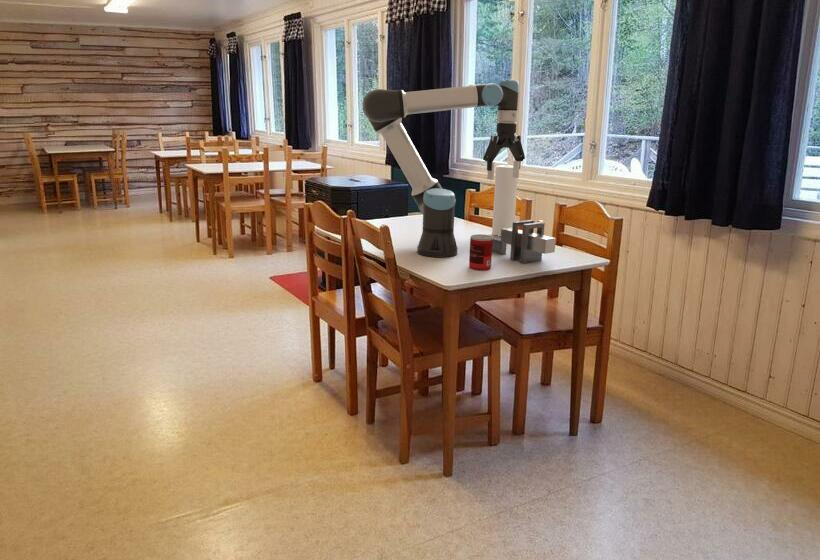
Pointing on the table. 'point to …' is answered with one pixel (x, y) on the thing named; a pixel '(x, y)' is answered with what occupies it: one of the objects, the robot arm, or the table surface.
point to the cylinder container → (504, 199)
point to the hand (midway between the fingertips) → (503, 178)
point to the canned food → (480, 252)
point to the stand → (498, 246)
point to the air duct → (530, 241)
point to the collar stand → (525, 241)
